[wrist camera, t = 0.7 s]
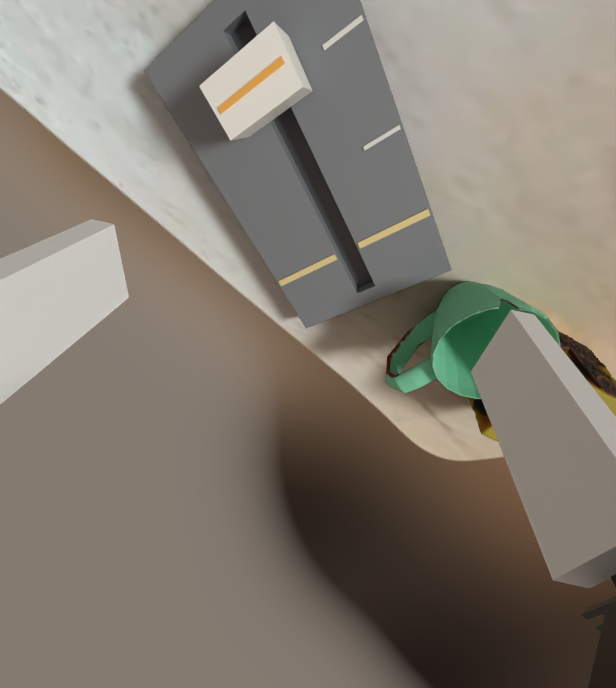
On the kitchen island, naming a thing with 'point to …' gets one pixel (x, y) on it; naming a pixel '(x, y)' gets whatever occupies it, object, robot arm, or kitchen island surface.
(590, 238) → the kitchen island surface
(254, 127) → the fader tab
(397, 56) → the kitchen island surface
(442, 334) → the mug
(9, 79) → the kitchen island surface
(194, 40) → the console
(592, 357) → the yellow cube with holes
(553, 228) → the kitchen island surface
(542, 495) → the robot arm
